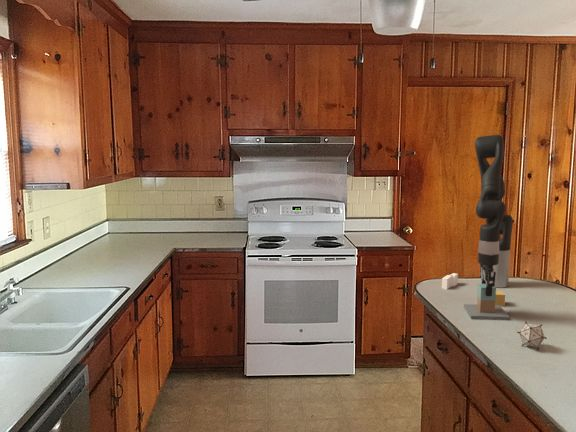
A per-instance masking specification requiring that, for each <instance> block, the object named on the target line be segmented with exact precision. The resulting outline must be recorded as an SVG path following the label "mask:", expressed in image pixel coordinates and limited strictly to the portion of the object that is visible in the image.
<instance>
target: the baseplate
mask: <svg viewBox="0 0 576 432" xmlns="http://www.w3.org/2000/svg"><path fill="white" fill-rule="evenodd" d="M476 298H477V299H476V303H473V304H472V303H471V304H470V303H469V304H467V303H463V308H464V310H465V311H466V313H467V314H468V317H469V318H470V319H471V320H492V321H493V320H497V321H500V320H501V321H510V316H509V315H508V313H507V312H506V311H505V310H504V309H503V308H502V306H500V305H495V301H494V300H480V299H479V297H478V296H476Z"/></svg>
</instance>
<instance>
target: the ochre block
mask: <svg viewBox="0 0 576 432" xmlns="http://www.w3.org/2000/svg"><path fill="white" fill-rule="evenodd" d="M505 301H506V294H505V293H504V292H503V290H496V299H495V305H500V307H505V303H506V302H505Z"/></svg>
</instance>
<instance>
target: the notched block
mask: <svg viewBox="0 0 576 432" xmlns="http://www.w3.org/2000/svg"><path fill="white" fill-rule="evenodd" d="M458 280H459V273H454V272H453V273H451V274H447V275H445V276H444V277H442V278H441V289H442V290H449V289H451V287H456V286H457V285H458V283H459V281H458Z"/></svg>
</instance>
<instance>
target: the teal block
mask: <svg viewBox="0 0 576 432" xmlns="http://www.w3.org/2000/svg"><path fill="white" fill-rule="evenodd" d="M496 291H497V287H495V286H494V287H492V296H486V284H482V283H477V294H476V295H477V296H478V297H479V299H480V300H494V301H495V299H496ZM477 296H476V297H477Z"/></svg>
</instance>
